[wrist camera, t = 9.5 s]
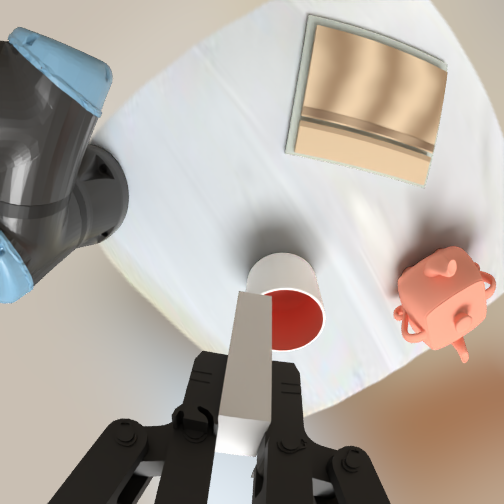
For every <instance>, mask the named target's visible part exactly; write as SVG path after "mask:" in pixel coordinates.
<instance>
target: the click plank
mask: <svg viewBox="0 0 504 504" xmlns="http://www.w3.org/2000/svg"><path fill="white" fill-rule="evenodd" d="M446 80H447V72H446V71H444V70H442V69H440V68H438V67H436V66H434V65H432V64H430V63H428V62H426V61H424V60H421V59H419V58H417V57H415V56H412V55H410V54H408V53H405V52H403V51H400V50H398V49H395V48H392V47H390V46H387V45H384V44H382V43H379V42H376V41H373V40H370V39H367V38H364V37H361V36H357V35H354V34H351V33H347V32H344V31H340V30H336V29H332V28H328V27H324V26H320V25H317V26H316V30H315V36H314V42H313V48H312V54H311V60H310V66H309V72H308V77H307V83H306V89H305V94H304V100H303V106H302V111H301V116H305V117H310V118H314V119H319V120H323V121H328V122H332V123H336V124H340V125H344V126H348V127H352V128H355V129H359V130H362V131H366V132H369V133H373V134H376V135H380V136H383V137H386V138H389V139H392V140H395V141H398V142H401V143H404V144H407V145H410V146H413V147H416V148H418V149H421V150H424V151H427V152H429V153H433V150H434V146H435V145H434V144H435V140H436V136H437V131H438V126H439V121H440V116H441V111H442V105H443V100H444V93H445V87H446Z"/></svg>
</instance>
